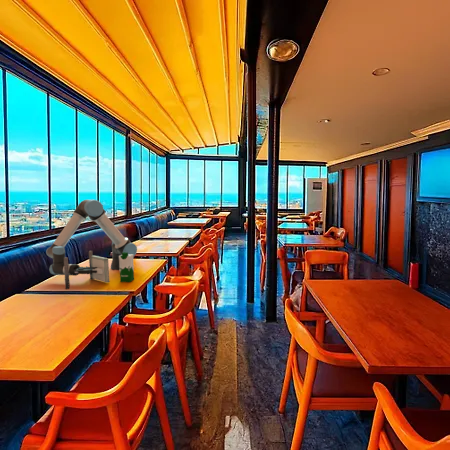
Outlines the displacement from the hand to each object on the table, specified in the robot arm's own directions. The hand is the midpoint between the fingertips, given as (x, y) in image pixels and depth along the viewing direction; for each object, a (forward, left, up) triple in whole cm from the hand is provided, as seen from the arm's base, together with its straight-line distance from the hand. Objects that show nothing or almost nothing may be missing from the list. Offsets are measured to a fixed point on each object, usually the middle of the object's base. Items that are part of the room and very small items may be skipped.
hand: (103, 271), depth 223 cm
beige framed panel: (-2, -9, -8) cm, 12 cm away
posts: (+9, -14, -9) cm, 19 cm away
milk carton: (-15, +4, -9) cm, 18 cm away
